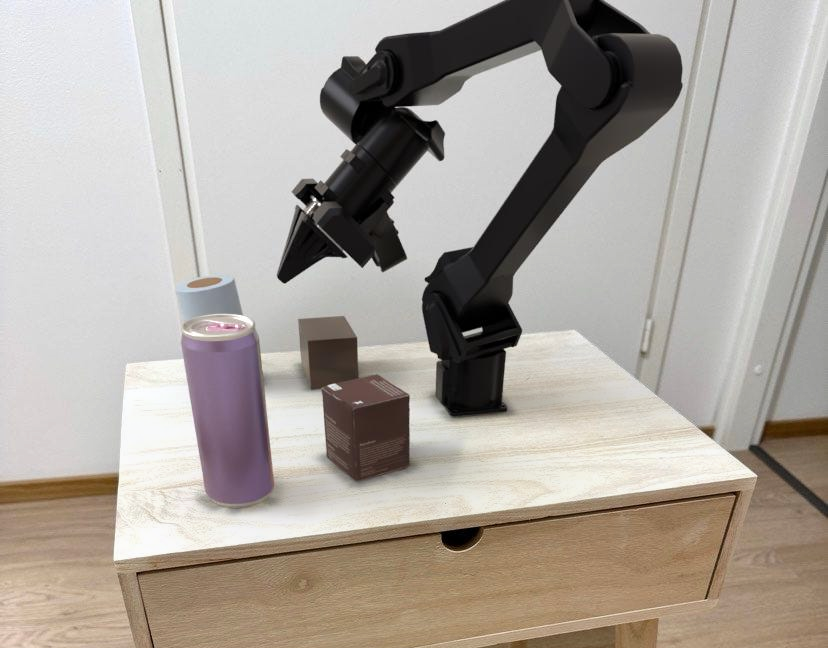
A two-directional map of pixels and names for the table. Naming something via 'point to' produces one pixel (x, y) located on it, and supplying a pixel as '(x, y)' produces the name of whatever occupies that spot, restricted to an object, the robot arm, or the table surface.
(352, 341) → the walnut block
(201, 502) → the table surface
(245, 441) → the beverage can
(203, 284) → the light blue cylinder
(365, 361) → the table surface
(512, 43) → the robot arm
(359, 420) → the box
